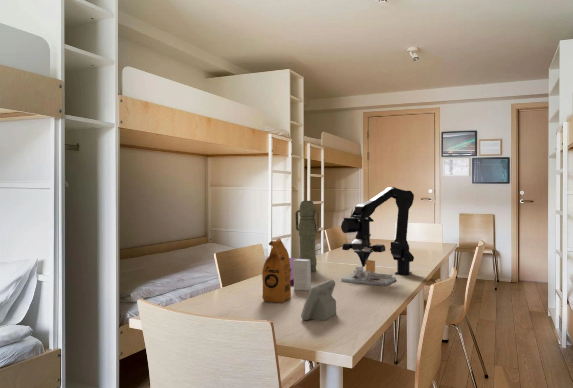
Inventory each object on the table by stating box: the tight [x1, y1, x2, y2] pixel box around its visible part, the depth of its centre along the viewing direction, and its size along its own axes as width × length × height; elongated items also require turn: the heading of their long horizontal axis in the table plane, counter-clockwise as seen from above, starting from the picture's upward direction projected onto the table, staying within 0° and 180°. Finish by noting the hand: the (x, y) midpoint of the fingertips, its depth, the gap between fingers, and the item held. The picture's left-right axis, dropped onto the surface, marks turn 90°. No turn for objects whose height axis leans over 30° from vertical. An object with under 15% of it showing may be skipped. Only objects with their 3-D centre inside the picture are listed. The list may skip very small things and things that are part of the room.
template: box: [340, 265, 397, 287], centre depth 197 cm, size 14×20×5 cm
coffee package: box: [261, 238, 292, 304], centre depth 166 cm, size 10×12×22 cm
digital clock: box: [300, 279, 337, 322], centre depth 143 cm, size 16×9×11 cm, turn 139°
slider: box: [364, 259, 376, 278], centre depth 199 cm, size 7×3×7 cm, turn 148°
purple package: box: [289, 257, 304, 285], centre depth 198 cm, size 10×8×18 cm
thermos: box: [294, 200, 320, 272], centre depth 226 cm, size 9×12×35 cm
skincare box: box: [293, 259, 312, 292], centre depth 182 cm, size 6×4×12 cm
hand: (363, 266), depth 203 cm, fingers closed
